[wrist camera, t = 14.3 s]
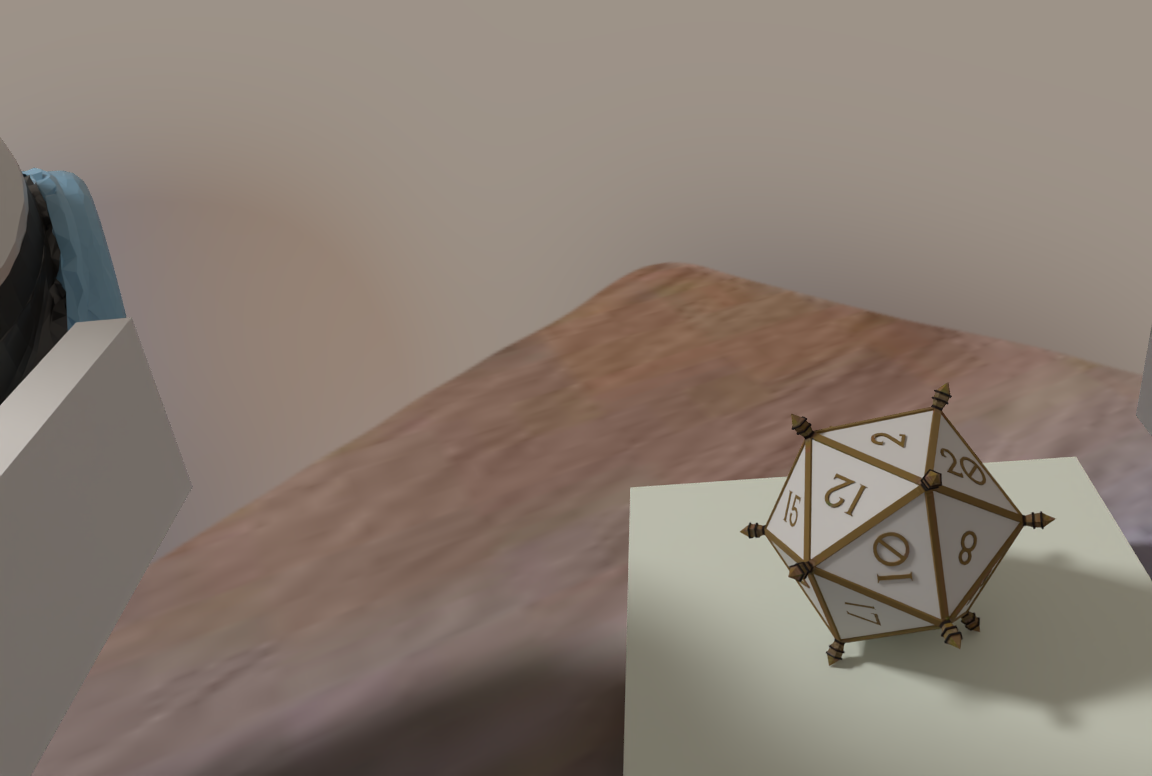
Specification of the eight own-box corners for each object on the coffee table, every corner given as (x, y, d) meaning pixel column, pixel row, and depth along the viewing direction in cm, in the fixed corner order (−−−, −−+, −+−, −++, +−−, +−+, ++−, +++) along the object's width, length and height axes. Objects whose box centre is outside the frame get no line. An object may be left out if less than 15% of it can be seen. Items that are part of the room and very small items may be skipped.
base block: (638, 968, 33) (620, 860, 30) (641, 580, 48) (630, 487, 46) (1273, 956, 31) (1309, 838, 28) (1064, 554, 46) (1076, 456, 44)
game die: (894, 660, 41) (1000, 410, 40) (1014, 767, 32) (1151, 454, 32) (676, 583, 39) (781, 322, 38) (742, 674, 31) (878, 343, 30)
